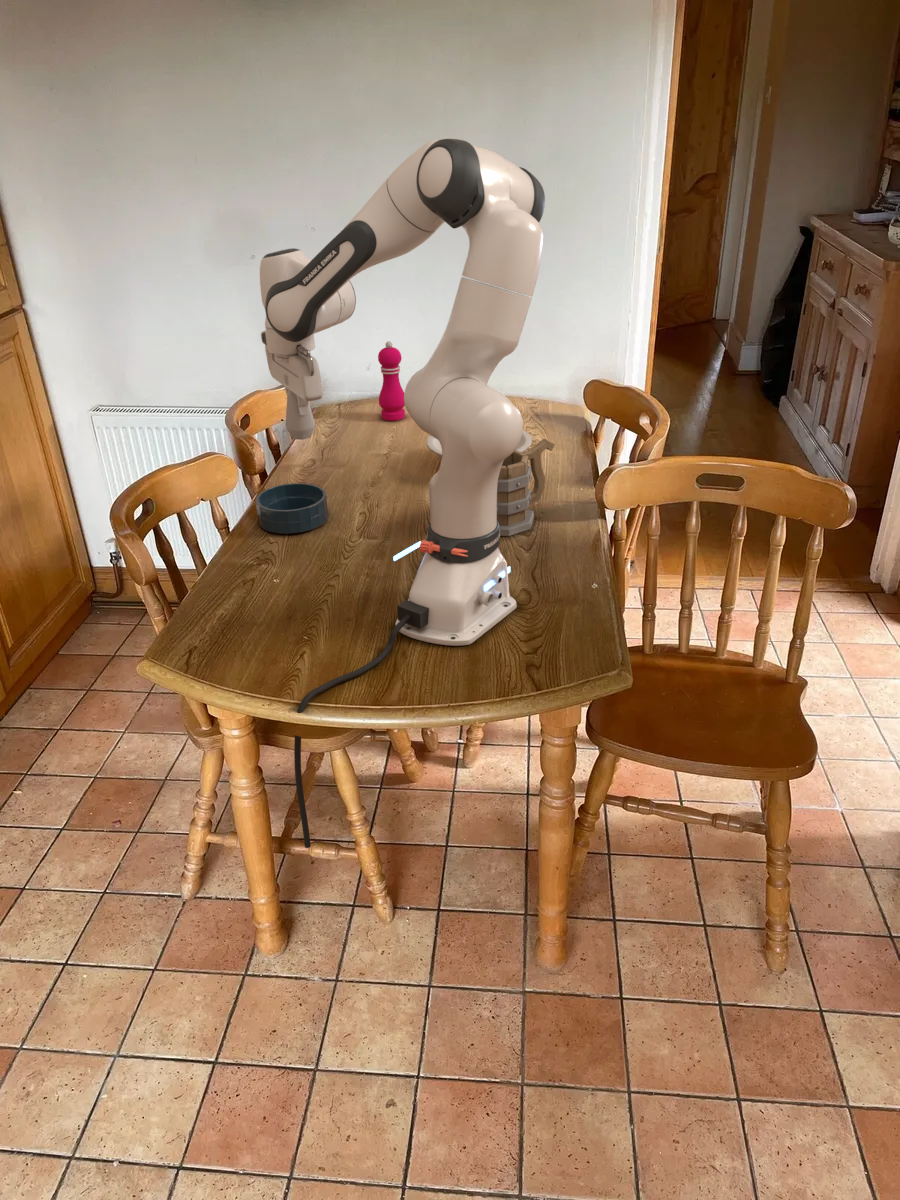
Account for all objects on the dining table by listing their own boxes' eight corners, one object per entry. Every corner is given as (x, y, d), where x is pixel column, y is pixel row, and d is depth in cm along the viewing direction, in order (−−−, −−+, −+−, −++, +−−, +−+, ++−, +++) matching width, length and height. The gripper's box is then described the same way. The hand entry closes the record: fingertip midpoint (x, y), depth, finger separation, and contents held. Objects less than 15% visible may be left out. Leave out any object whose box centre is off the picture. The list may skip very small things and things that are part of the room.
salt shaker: (310, 442, 180) (303, 376, 174) (282, 440, 181) (274, 375, 175) (320, 431, 185) (313, 367, 179) (293, 430, 186) (285, 366, 180)
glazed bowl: (304, 540, 183) (301, 515, 180) (245, 529, 188) (241, 504, 185) (341, 512, 194) (338, 488, 191) (284, 502, 199) (281, 479, 196)
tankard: (494, 542, 180) (493, 469, 172) (457, 519, 189) (455, 450, 182) (573, 516, 189) (576, 446, 182) (535, 496, 198) (536, 429, 191)
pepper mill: (412, 415, 246) (408, 339, 236) (396, 423, 241) (392, 346, 231) (390, 411, 250) (385, 336, 240) (374, 419, 245) (368, 343, 235)
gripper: (327, 349, 167) (334, 423, 174) (288, 327, 183) (296, 395, 190) (294, 354, 165) (302, 429, 172) (257, 331, 180) (266, 400, 187)
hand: (298, 411), depth 181 cm, fingers closed on salt shaker, 3 cm apart
